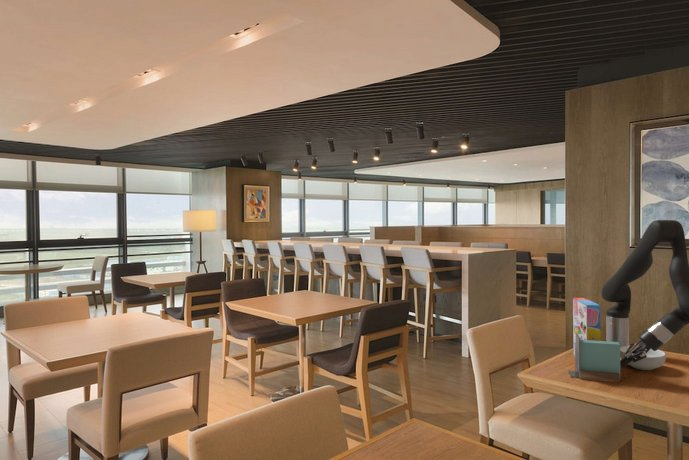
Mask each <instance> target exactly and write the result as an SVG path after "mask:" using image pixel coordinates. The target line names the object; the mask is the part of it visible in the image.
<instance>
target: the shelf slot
mask: <svg viewBox="0 0 689 460" xmlns="http://www.w3.org/2000/svg"><path fill="white" fill-rule="evenodd" d="M574 365H575V367H574V369H575V370H574V371H576V343H575V356H574ZM578 379H579V380H585V381H586V380H588V381H589V380H590V381H601V382H611V383H612V382H613V383H620V380H621V374H620V375H619V373H608V372H595V371H582V370H579V378H578Z"/></svg>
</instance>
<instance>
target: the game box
mask: <svg viewBox="0 0 689 460" xmlns="http://www.w3.org/2000/svg"><path fill="white" fill-rule="evenodd" d="M572 319H573V320H572V325H573V327H572V331H573V333H572V334H573V335H572V337H573V338H572V339H573V340H572V341H573V356H574V357H575V343H576V334H578V335H579V337H580V338H581V340H592V341H602V340H601V338H602V337H601V336H602V334H601V332H602V331H601V304H598V303H596V302H594V301H592V300H590V299H588V298H586V297H572Z"/></svg>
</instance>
